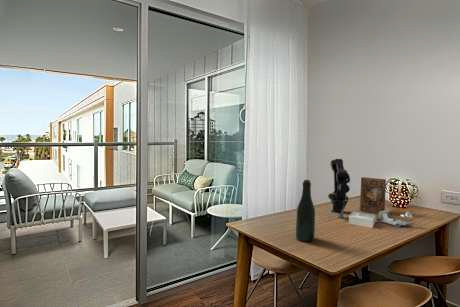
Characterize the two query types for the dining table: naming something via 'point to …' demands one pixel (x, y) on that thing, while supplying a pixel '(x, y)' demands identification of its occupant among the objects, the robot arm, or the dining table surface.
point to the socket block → (362, 219)
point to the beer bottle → (305, 215)
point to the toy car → (387, 218)
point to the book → (372, 195)
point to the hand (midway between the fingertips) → (340, 212)
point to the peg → (340, 214)
